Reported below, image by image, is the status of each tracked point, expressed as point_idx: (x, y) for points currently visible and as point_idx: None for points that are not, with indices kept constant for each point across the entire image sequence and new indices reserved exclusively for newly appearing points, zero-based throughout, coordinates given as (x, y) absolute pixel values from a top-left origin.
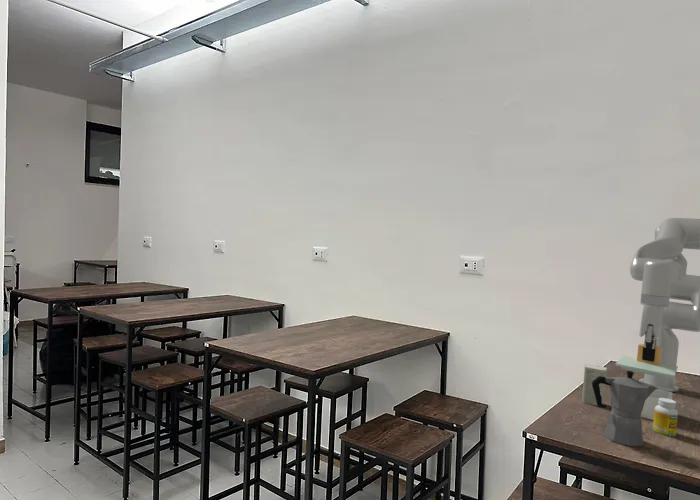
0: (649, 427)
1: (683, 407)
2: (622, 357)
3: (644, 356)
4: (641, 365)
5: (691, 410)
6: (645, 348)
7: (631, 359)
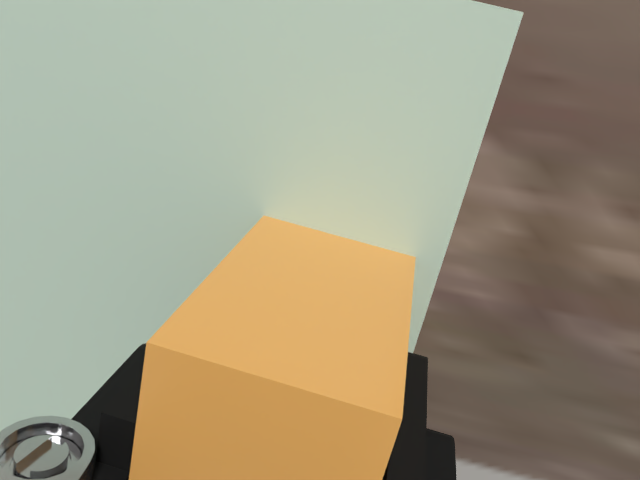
0: None
1: (599, 446)
2: (357, 2)
3: None
4: (13, 231)
5: (554, 471)
6: (114, 435)
7: (299, 145)
